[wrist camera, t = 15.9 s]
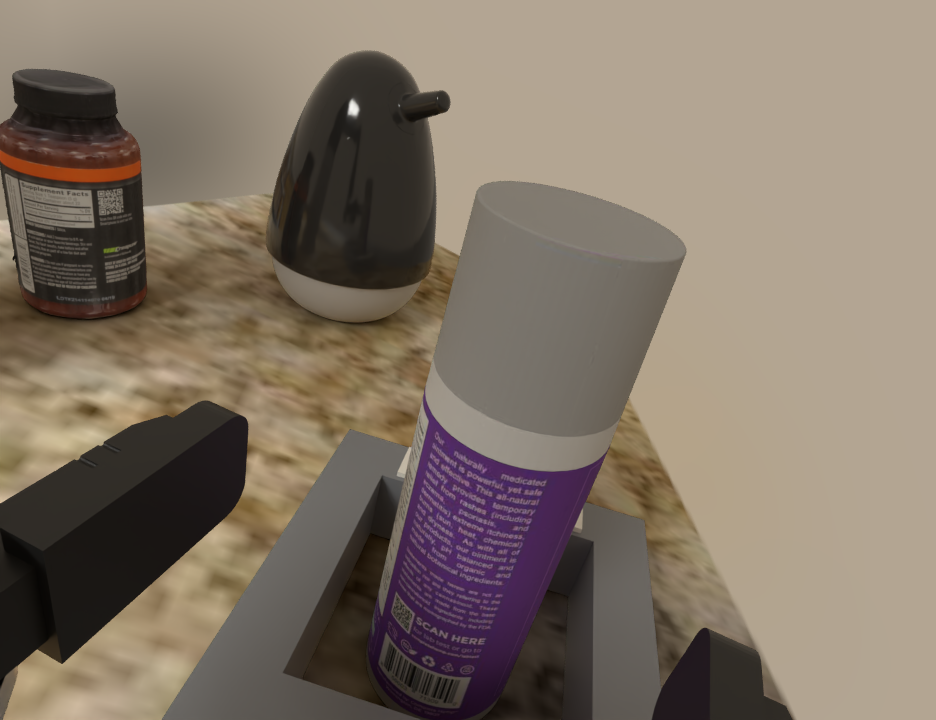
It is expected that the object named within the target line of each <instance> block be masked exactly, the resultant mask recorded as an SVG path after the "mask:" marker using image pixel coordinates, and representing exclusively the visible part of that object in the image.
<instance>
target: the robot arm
mask: <svg viewBox="0 0 936 720" xmlns="http://www.w3.org/2000/svg"><path fill="white" fill-rule="evenodd" d="M247 443H248V422H247V419H246V418H245V417H243V416H241V415H239V414H237V413H235V412H232V411H230V410H228V409H226V408H223V407H221V406H219V405H217V404H215V403H212V402H210V401H201V402H198V403H196V404H195V405H193V406H191V407H190V408H188V409H187V410H185V411H183V412H182V413H180V414H179V415H177V416H175V417H174V418H172V417H170V416H168V415H165V416H161V417H158V418H154V419H151V420H148V421H144V422H141V423H137V424H134V425H132V426H130V427H128V428H126V429H125V430H123V431H121V432H120V433H118V434H116V435H115V436H113V437H111V438H110V439H108V440H106V441H105V442H104V444H103V445H102V446H99V445H98V446H96V447H95V448H93V449H91V450H90V451H88V452H86V453H84V454H83V455H81V457H80V459H79V460H75V459H74V460H73V461H71V462H69V463H68V464H66V465H64V466H63V467H61V468H59V469H58V470H56V471H54V472H53V473H51V474H49V475H47V476H46V477H44V478H42V479H41V480H39V481H37V482H36V483H34V484H32V485H31V486H29V487H27V488H26V489H24V490H22V491H21V492H19V493H17V494H16V495H14V496H12V497H11V498H9V499H7V500H5V501H4V502H2V503H0V720H3V717H4V714H5V711H6V708H7V705H8V702H9V699H10V697H11V694H12V691H13V688H14V685H15V682H16V678H17V674H18V665H19V664H20V663H21V662H22V661H24V660H25V659H26V658H27V657H28V656H30V655H31V654H32V653H33V652H34V651H35V650H37V649H38V650H39V651H41V652H43V653H44V654H46V655H48V656H49V657H51V658H53V659H54V660H56V661H58V662H59V663H61V664H63V663H64V662H65V661H66V660H67V659H68V658H69V657H71V656H72V655H73V654H74V653H75V652H76V651H77V650H78V649H79V648H81V647H82V646H83V645H84V644H85V643H86V642H87V641H88V640H89V639H91V638H92V637H93V636H94V635H95V634H96V633H97V632H98V631H99V630H101V629H102V628H103V627H104V626H105V625H106V624H107V623H108V622H110V621H111V620H112V619H113V618H114V617H115V616H116V615H117V614H118V613H120V612H121V611H122V610H123V609H124V608H125V607H126V606H127V605H128V604H130V603H131V602H132V601H133V600H134V599H135V598H136V597H137V596H138V595H140V594H141V593H142V592H143V591H144V590H145V589H146V588H147V587H148V586H150V585H151V584H152V583H153V582H154V581H155V580H156V579H157V578H159V577H160V576H161V575H162V574H163V573H164V572H165V571H166V570H167V569H169V568H170V567H171V566H172V565H173V564H174V563H175V562H176V561H177V560H179V559H180V558H181V557H182V556H183V555H184V554H185V553H186V552H187V551H189V550H190V549H191V548H192V547H193V546H194V545H195V544H196V543H198V542H199V541H200V540H201V539H202V538H203V537H204V536H205V535H206V534H208V533H209V532H210V531H211V530H212V529H213V528H214V527H215V526H216V525H218V524H219V523H220V522H221V521H222V520H223V519H224V518H225V517H226V516H227V515H228V514H229V513H230V512H231V511H232V510H233V508H234V507H235V506H236V504H237V502H238V501H239V499H240V497H241V495H242V492H243V489H244V485H245V476H246V459H247ZM652 720H792V718H791V716H790V714H789V712H788V710H787V707H786V706H784V705H782V704H780V703H778V702H776V701H774V700H772V699H769V698H767V697H765V696H764V693H763V680H762V668H761V659H760V656H759V654H758V652H757V651H756V650H754V649H752V648H749V647H747V646H745V645H743V644H741V643H738V642H736V641H734V640H732V639H729V638H727V637H725V636H723V635H721V634H718V633H716V632H714V631H712V630H710V629H707V628H703V629H701V630H700V631H699V632H698V634H697V635H696V636H695V638H694V639H693V641H692V643H691V644H690V646H689V647H688V649H687V650H686V652H685V653H684V655H683V656H682V658H681V659H680V661H679V662H678V664H677V666H676V667H675V669H674V670H673V672H672V673H671V675H670V676H669V678H668V679H667V681H666V682H665V684H664V686H663V687H662V689H661V691H660V694H659V696H658V699H657V702H656V705H655V708H654V712H653V716H652Z"/></svg>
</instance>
